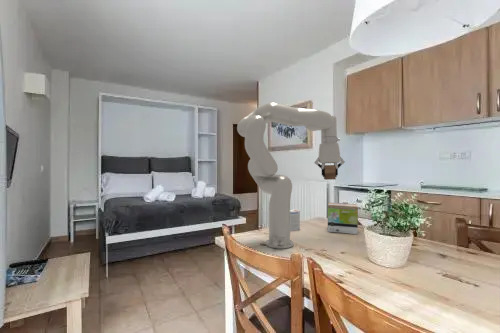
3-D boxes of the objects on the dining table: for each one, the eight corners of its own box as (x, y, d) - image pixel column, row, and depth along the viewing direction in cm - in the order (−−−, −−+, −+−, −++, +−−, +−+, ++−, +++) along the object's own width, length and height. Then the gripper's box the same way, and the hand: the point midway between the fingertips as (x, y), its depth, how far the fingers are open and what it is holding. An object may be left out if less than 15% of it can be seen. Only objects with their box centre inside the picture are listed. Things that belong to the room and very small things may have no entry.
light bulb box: (279, 227, 151) (279, 208, 151) (289, 225, 154) (289, 207, 154) (290, 231, 141) (290, 211, 141) (300, 230, 144) (300, 210, 144)
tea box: (327, 232, 139) (327, 204, 139) (327, 227, 149) (327, 202, 149) (358, 234, 135) (358, 206, 135) (356, 229, 144) (356, 203, 144)
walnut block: (335, 179, 130) (335, 165, 129) (325, 179, 130) (324, 165, 130) (333, 178, 134) (333, 165, 134) (323, 178, 135) (323, 165, 135)
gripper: (345, 140, 134) (345, 176, 135) (311, 141, 137) (311, 176, 137) (348, 139, 127) (348, 177, 127) (312, 141, 129) (313, 177, 130)
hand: (329, 176), depth 132 cm, fingers closed on walnut block, 5 cm apart
